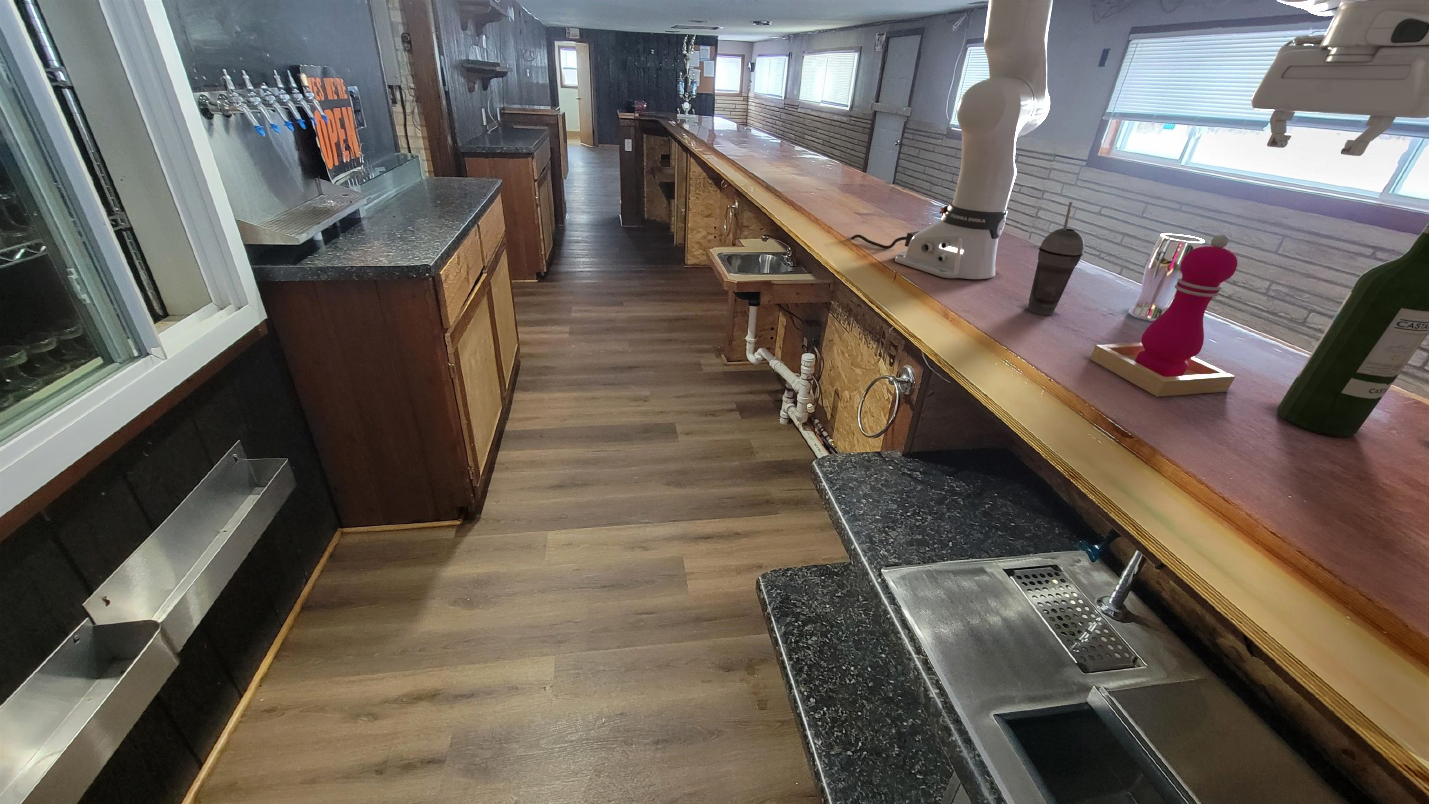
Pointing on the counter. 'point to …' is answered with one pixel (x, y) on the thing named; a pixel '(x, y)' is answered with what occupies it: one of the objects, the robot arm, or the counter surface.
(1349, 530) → the counter surface
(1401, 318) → the wine bottle
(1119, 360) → the tray
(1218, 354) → the counter surface
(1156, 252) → the beer glass
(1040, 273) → the beverage cup
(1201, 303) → the pepper mill
